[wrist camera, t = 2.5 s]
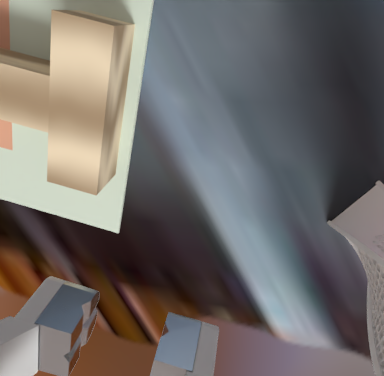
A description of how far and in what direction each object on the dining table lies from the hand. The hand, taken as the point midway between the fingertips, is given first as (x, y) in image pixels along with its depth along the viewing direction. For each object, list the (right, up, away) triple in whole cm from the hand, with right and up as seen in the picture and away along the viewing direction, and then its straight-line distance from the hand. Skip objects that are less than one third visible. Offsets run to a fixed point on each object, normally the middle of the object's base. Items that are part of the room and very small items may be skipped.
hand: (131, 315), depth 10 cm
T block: (-9, +12, +17) cm, 23 cm away
